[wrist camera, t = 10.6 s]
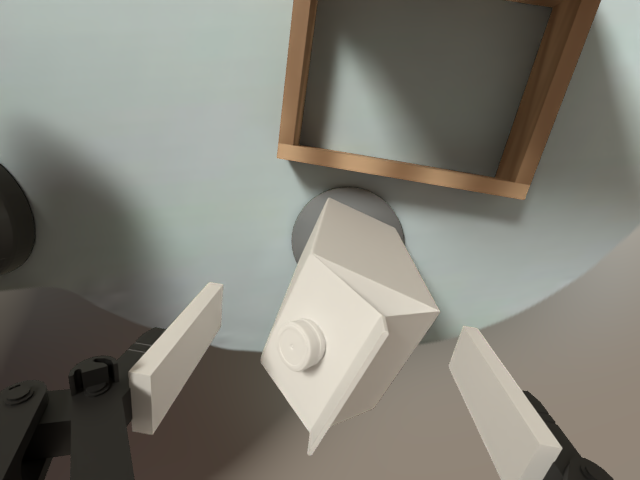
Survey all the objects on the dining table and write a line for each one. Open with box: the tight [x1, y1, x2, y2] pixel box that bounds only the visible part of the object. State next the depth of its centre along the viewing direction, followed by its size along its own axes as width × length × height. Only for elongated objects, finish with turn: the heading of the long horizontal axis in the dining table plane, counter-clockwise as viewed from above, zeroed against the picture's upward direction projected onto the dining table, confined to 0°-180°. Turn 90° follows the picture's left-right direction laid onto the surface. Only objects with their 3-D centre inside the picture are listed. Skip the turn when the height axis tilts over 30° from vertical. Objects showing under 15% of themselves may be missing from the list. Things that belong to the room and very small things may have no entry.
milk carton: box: [261, 198, 440, 456], centre depth 21 cm, size 7×7×19 cm
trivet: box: [292, 187, 403, 264], centre depth 30 cm, size 11×11×1 cm
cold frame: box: [277, 0, 601, 200], centre depth 15 cm, size 20×17×21 cm
